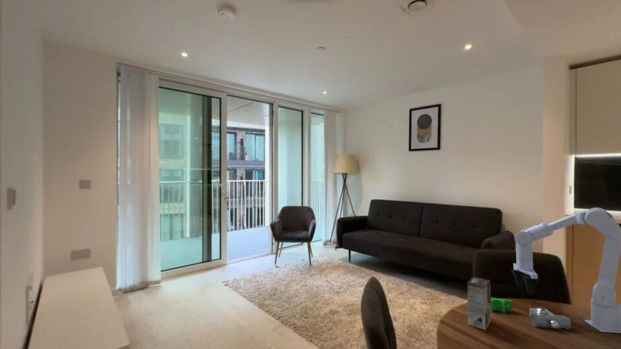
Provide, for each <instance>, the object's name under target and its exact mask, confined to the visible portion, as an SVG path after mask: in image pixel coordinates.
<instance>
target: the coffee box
mask: <svg viewBox="0 0 621 349" xmlns="http://www.w3.org/2000/svg"><path fill="white" fill-rule="evenodd" d="M466 284H467V286H466V287H467V288H466V289H467V291H466V292H467V325H469V326H472V327H475V328H477V329H478V328H479V329H482V330H484V331H486V330H487V328H488V327H489V325H490V323H491V321H492V311H491V298H492V296H491V280H490V279H484V278H481V277H478V276H477V277H475V276H472V277H471V279H470V280H469V281H468V282H467V283H466Z"/></svg>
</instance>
